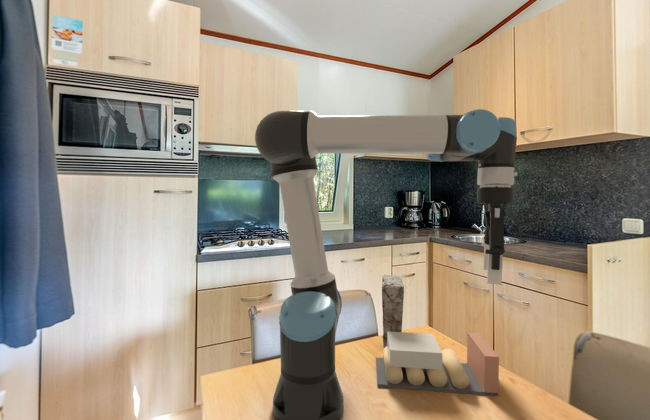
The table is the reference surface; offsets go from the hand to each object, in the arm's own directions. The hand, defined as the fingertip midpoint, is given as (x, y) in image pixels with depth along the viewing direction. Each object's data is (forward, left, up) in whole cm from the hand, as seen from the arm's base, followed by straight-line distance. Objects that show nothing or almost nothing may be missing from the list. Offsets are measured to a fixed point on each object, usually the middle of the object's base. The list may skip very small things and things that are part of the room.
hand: (491, 276), depth 73 cm
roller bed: (-13, +1, -26) cm, 29 cm away
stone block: (-22, +17, -26) cm, 38 cm away
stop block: (-1, +1, -26) cm, 26 cm away
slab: (-18, +1, -22) cm, 28 cm away
